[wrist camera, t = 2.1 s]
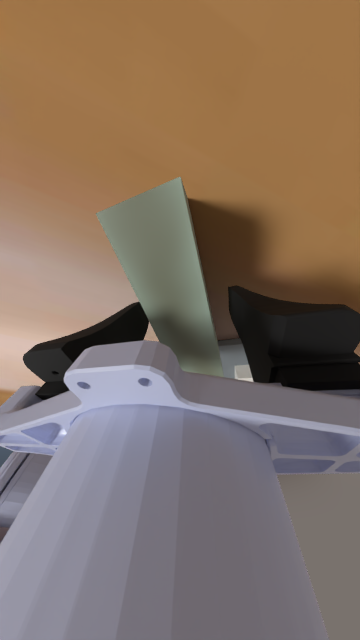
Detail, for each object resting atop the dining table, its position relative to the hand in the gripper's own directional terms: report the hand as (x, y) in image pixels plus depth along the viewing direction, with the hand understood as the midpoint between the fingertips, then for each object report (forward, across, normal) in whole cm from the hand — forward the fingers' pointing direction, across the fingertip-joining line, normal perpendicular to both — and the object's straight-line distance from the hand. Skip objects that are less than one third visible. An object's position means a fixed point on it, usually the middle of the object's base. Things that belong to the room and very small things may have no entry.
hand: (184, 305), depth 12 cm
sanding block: (+4, 0, 0) cm, 4 cm away
